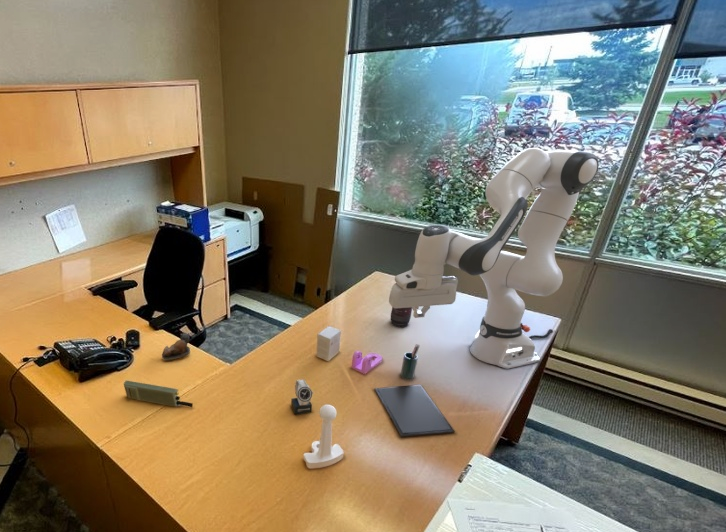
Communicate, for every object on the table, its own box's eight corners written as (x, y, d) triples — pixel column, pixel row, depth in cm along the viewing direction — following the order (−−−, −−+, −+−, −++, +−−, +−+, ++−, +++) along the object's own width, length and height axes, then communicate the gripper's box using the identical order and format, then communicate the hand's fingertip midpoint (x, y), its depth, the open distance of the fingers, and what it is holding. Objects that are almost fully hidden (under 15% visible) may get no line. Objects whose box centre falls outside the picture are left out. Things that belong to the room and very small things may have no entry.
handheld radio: (130, 393, 149) (194, 404, 142) (126, 399, 147) (191, 411, 139) (126, 378, 146) (192, 389, 138) (122, 384, 143) (188, 396, 136)
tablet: (420, 386, 143) (420, 384, 142) (454, 433, 123) (454, 430, 123) (374, 390, 142) (374, 388, 142) (401, 437, 123) (401, 435, 123)
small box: (327, 347, 166) (328, 325, 161) (339, 352, 163) (341, 330, 158) (315, 356, 162) (317, 333, 156) (328, 361, 158) (329, 338, 153)
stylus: (407, 374, 148) (419, 347, 137) (403, 373, 148) (415, 346, 138) (408, 372, 149) (420, 344, 138) (404, 370, 149) (415, 343, 139)
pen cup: (410, 372, 150) (414, 351, 145) (415, 379, 146) (420, 358, 141) (398, 373, 150) (402, 352, 145) (403, 380, 146) (407, 359, 141)
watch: (296, 418, 133) (297, 392, 127) (289, 402, 140) (290, 376, 134) (313, 416, 133) (315, 389, 128) (305, 399, 140) (306, 374, 135)
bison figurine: (163, 364, 163) (160, 343, 158) (161, 355, 169) (157, 334, 164) (193, 358, 166) (190, 337, 161) (189, 349, 172) (187, 328, 167)
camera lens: (412, 328, 175) (418, 296, 168) (393, 328, 175) (398, 297, 168) (405, 318, 182) (411, 287, 175) (386, 319, 182) (391, 288, 175)
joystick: (310, 471, 115) (313, 417, 105) (297, 451, 121) (299, 399, 111) (345, 460, 117) (351, 406, 107) (331, 441, 124) (336, 389, 114)
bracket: (364, 375, 150) (366, 359, 146) (351, 368, 154) (353, 353, 150) (384, 360, 157) (387, 345, 153) (371, 354, 161) (373, 339, 157)
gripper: (453, 271, 132) (445, 309, 138) (390, 276, 131) (384, 314, 138) (464, 279, 126) (455, 319, 133) (398, 284, 126) (391, 323, 133)
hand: (418, 316), depth 136 cm, fingers closed
